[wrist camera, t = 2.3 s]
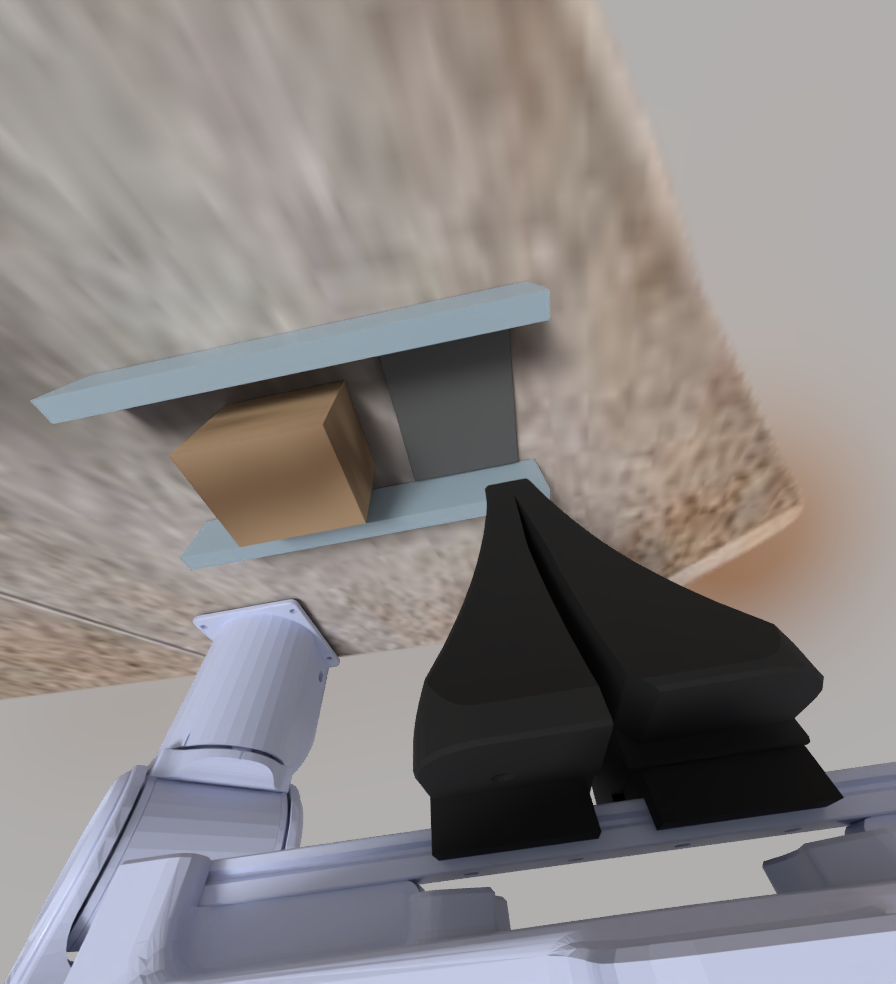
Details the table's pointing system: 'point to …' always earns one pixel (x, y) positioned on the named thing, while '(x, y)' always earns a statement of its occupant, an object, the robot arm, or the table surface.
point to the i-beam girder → (313, 351)
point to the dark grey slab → (455, 404)
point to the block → (282, 465)
